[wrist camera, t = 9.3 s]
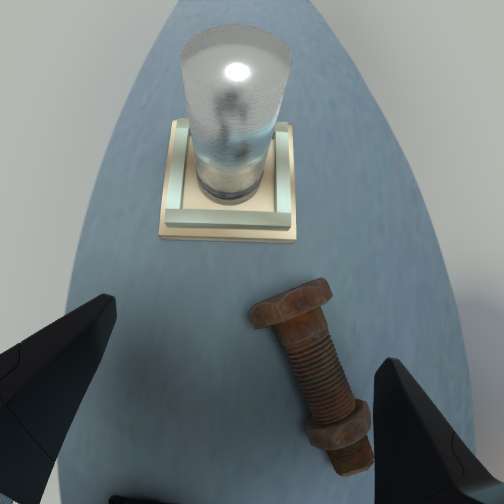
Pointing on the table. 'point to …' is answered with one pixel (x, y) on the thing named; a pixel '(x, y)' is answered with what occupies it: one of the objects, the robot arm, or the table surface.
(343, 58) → the table surface
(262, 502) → the table surface
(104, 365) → the table surface
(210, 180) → the grey cylindrical piece
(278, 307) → the bolt
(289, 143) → the tray
